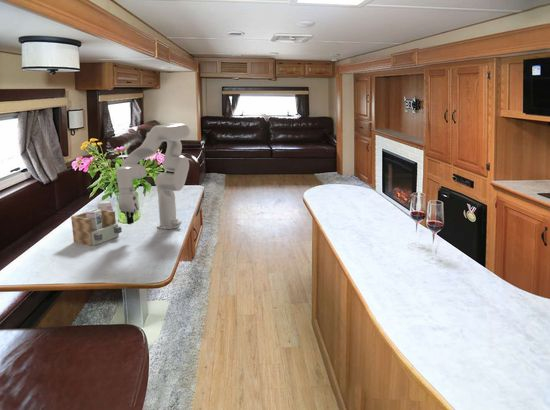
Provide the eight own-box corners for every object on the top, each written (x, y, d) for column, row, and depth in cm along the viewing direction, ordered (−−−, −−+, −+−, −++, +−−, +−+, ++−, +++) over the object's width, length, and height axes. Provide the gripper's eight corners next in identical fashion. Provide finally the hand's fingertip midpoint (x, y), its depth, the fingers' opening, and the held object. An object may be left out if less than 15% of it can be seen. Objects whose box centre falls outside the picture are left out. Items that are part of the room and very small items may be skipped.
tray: (123, 236, 275) (122, 224, 274) (98, 246, 260) (97, 233, 258) (101, 233, 282) (100, 221, 280) (76, 242, 266) (74, 229, 265)
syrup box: (98, 238, 266) (95, 211, 262) (88, 238, 267) (85, 211, 264) (104, 235, 271) (101, 209, 268) (94, 234, 272) (91, 208, 269)
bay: (117, 236, 277) (114, 211, 274) (92, 245, 262) (89, 219, 258) (99, 233, 283) (97, 209, 280) (73, 242, 267) (71, 216, 264)
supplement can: (103, 225, 299) (100, 200, 295) (116, 225, 298) (114, 200, 295) (97, 229, 291) (94, 203, 288) (111, 229, 290) (108, 203, 287)
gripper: (142, 189, 264) (146, 222, 270) (120, 187, 271) (124, 220, 276) (132, 193, 258) (136, 227, 263) (110, 191, 265) (115, 224, 270)
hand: (130, 223), depth 270 cm, fingers closed
